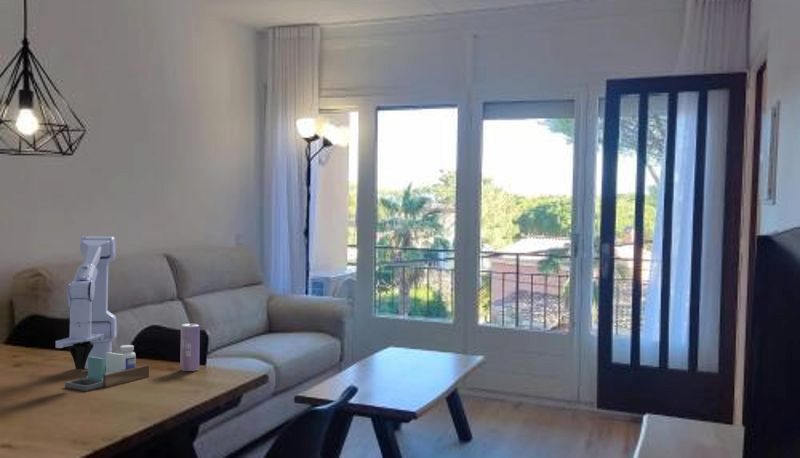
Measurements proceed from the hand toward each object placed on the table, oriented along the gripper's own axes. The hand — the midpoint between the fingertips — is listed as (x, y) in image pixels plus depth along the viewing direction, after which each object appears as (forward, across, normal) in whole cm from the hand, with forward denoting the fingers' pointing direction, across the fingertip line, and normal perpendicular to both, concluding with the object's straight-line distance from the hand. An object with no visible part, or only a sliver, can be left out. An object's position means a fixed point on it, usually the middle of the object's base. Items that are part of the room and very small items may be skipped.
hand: (80, 368), depth 192 cm
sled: (+5, +9, 0) cm, 11 cm away
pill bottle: (+6, +16, 0) cm, 18 cm away
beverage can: (+6, +34, -10) cm, 35 cm away
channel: (+6, +12, 0) cm, 14 cm away
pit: (+6, +2, 0) cm, 6 cm away
